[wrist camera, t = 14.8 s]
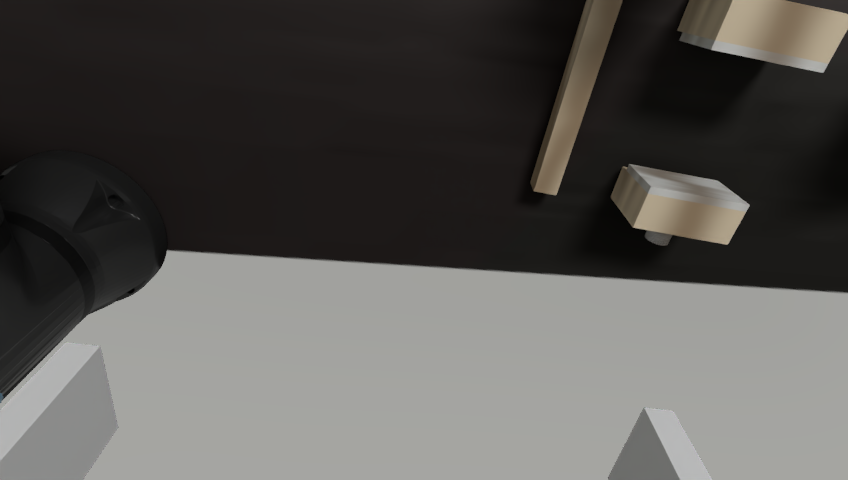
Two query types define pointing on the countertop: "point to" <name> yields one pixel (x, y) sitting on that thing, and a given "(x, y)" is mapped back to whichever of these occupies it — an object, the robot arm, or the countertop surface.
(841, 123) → the countertop surface
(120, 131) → the countertop surface
